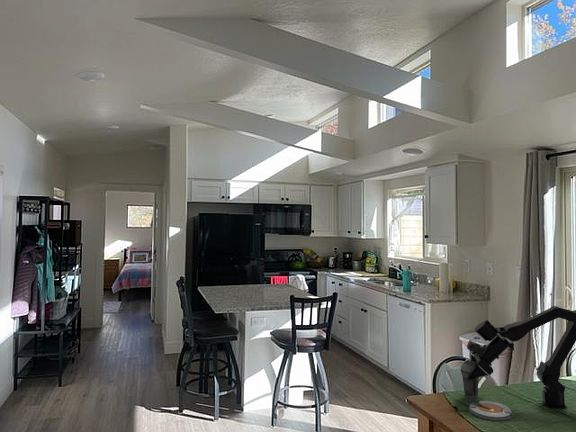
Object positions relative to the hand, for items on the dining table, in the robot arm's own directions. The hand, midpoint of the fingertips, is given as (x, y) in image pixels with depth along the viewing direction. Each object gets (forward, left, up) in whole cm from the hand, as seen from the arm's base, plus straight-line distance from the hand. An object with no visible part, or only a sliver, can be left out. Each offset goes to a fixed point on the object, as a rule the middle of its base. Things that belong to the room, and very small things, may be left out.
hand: (466, 375), depth 174 cm
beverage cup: (-1, 0, -10) cm, 10 cm away
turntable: (-5, +13, -10) cm, 17 cm away
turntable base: (-5, +13, -10) cm, 17 cm away
